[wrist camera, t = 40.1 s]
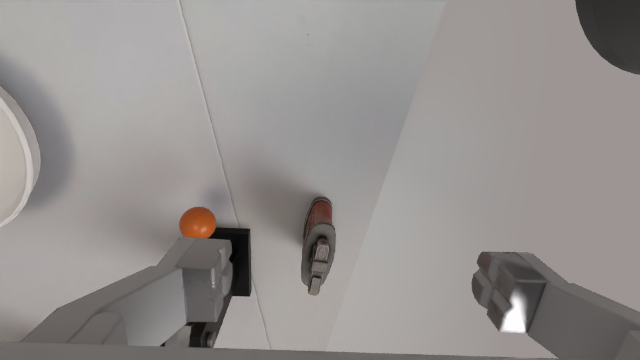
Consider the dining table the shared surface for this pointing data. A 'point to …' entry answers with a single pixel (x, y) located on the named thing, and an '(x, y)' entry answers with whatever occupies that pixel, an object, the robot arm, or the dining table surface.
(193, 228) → the switch
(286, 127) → the dining table surface
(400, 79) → the dining table surface
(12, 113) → the bowl
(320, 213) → the lighter
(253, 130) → the dining table surface
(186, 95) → the dining table surface
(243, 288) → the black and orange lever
